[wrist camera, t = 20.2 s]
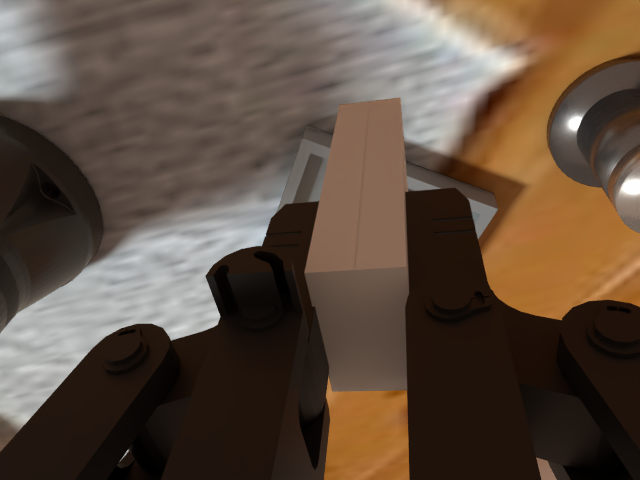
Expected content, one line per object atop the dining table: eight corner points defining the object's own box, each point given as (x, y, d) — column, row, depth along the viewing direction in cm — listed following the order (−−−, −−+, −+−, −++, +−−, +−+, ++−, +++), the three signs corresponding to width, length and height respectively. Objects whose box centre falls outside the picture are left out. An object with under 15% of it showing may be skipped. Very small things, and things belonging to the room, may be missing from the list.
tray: (411, 322, 44) (411, 340, 42) (256, 270, 43) (251, 286, 41) (493, 193, 36) (498, 209, 34) (306, 125, 35) (302, 138, 33)
